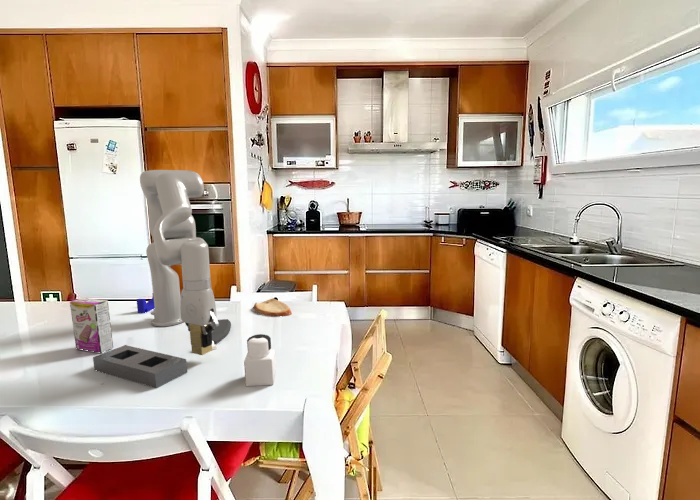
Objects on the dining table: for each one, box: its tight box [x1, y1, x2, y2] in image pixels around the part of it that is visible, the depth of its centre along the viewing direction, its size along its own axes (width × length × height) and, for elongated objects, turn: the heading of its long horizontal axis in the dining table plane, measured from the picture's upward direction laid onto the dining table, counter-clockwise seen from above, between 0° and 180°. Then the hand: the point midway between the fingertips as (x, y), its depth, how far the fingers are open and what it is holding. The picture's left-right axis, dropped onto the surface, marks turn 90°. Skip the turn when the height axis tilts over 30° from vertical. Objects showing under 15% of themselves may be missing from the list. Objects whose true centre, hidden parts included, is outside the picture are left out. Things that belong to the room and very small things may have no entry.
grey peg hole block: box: [92, 344, 188, 389], centre depth 117 cm, size 26×10×4 cm, turn 63°
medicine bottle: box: [243, 333, 277, 387], centre depth 110 cm, size 7×7×12 cm
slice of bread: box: [253, 298, 293, 318], centre depth 174 cm, size 18×18×4 cm
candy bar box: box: [69, 297, 114, 354], centre depth 134 cm, size 11×5×16 cm, turn 71°
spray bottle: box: [212, 318, 232, 351], centre depth 143 cm, size 3×11×24 cm
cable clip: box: [136, 292, 155, 314], centre depth 180 cm, size 12×4×6 cm, turn 170°
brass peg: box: [189, 324, 213, 356], centre depth 122 cm, size 4×4×10 cm
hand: (201, 344), depth 122 cm, fingers closed on brass peg, 4 cm apart
